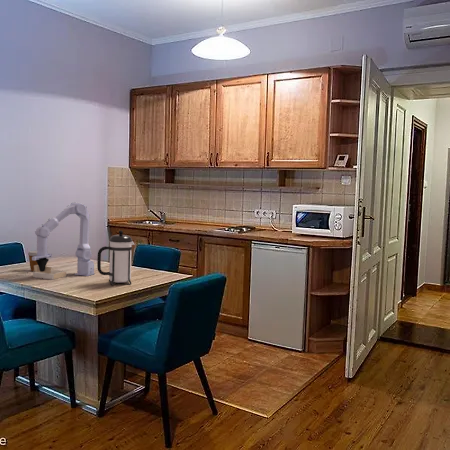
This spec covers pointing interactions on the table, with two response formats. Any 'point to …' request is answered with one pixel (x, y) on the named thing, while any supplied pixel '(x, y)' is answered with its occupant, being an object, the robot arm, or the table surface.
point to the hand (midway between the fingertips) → (42, 271)
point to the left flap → (47, 270)
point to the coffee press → (118, 259)
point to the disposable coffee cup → (32, 262)
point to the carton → (50, 274)
